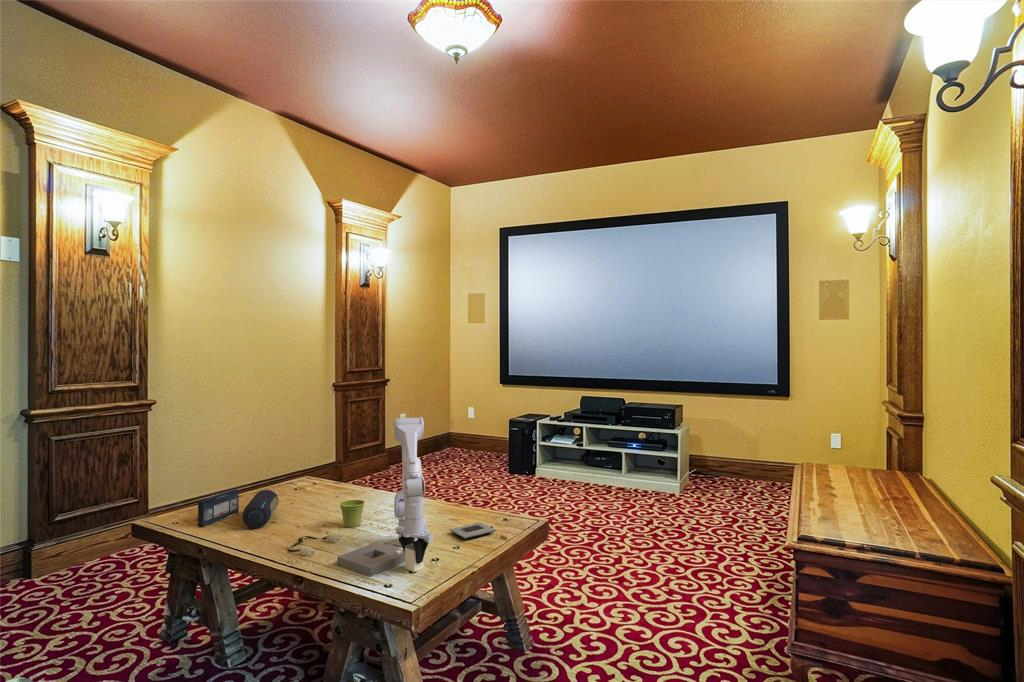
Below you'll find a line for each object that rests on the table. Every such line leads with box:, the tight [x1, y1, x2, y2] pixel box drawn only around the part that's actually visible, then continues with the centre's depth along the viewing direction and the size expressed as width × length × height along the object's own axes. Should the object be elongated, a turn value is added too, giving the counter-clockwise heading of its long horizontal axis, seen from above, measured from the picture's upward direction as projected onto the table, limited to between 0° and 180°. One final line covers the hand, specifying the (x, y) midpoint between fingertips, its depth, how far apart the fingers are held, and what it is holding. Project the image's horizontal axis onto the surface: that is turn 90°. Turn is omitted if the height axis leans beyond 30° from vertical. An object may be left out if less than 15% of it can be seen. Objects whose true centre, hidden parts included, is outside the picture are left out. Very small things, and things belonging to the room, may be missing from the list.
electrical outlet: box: [449, 521, 497, 540], centre depth 206 cm, size 13×10×2 cm
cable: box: [286, 532, 341, 557], centre depth 195 cm, size 16×16×4 cm
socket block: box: [336, 541, 405, 577], centre depth 180 cm, size 16×16×3 cm
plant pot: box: [338, 499, 366, 528], centre depth 216 cm, size 9×9×9 cm
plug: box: [404, 543, 425, 573], centre depth 175 cm, size 4×4×7 cm
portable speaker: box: [241, 489, 279, 529], centre depth 223 cm, size 25×10×10 cm, turn 13°
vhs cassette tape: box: [197, 488, 240, 528], centre depth 224 cm, size 18×3×10 cm, turn 162°
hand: (414, 560), depth 175 cm, fingers closed on plug, 4 cm apart
